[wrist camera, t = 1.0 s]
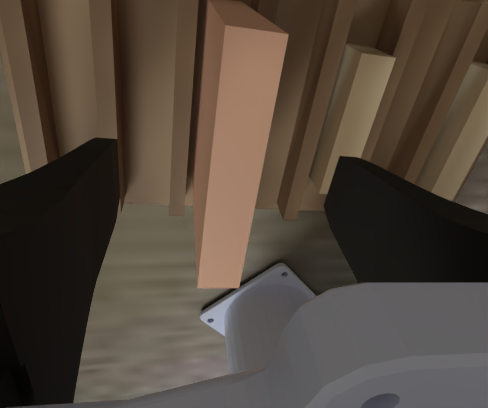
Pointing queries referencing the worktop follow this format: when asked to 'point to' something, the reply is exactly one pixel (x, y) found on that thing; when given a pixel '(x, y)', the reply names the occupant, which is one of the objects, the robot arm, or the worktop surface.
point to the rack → (188, 79)
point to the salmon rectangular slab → (232, 134)
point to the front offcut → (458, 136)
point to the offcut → (350, 109)
